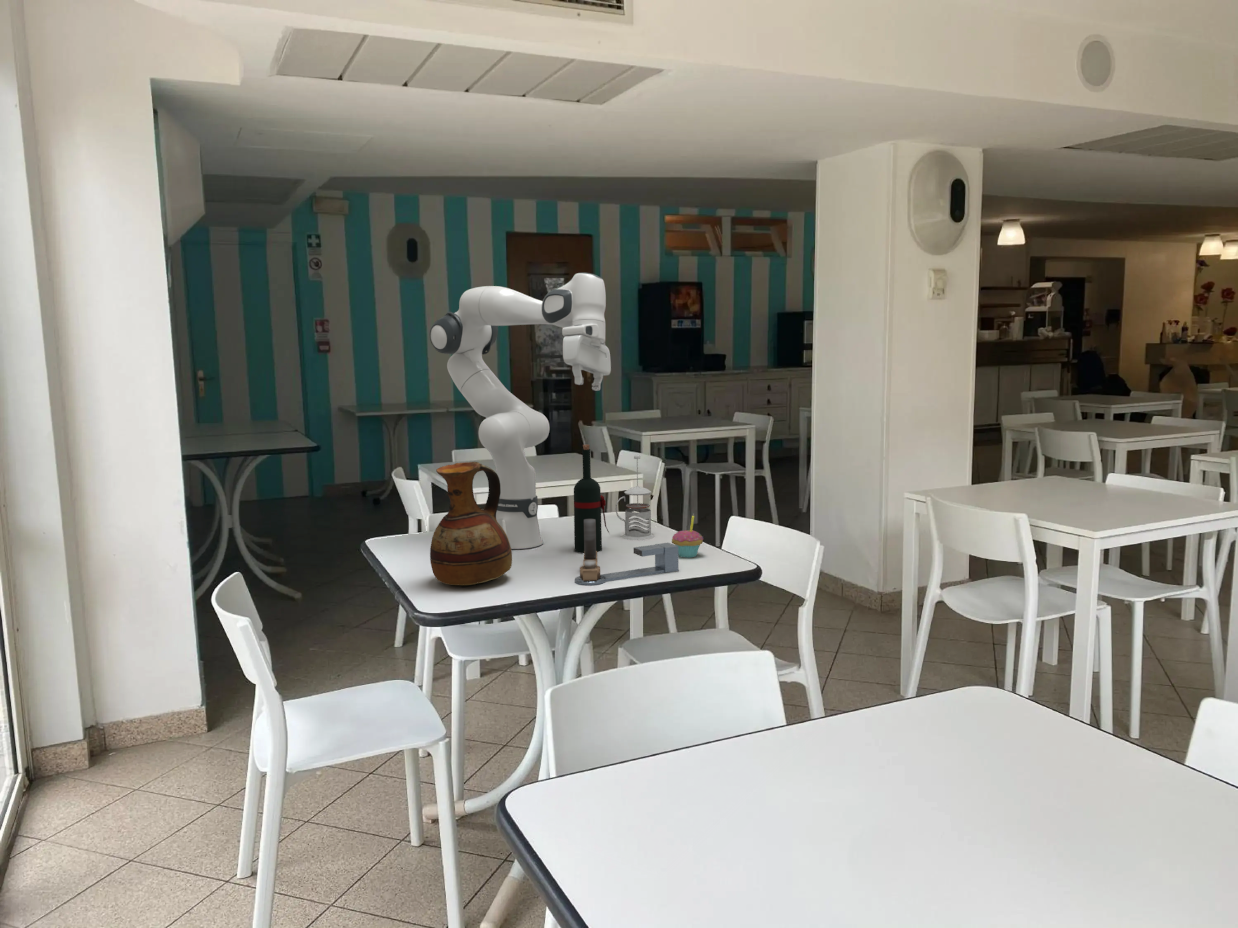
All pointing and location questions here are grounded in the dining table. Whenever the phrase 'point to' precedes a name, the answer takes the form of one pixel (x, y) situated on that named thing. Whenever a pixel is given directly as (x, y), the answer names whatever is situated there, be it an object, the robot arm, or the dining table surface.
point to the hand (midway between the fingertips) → (587, 387)
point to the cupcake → (687, 541)
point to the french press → (637, 514)
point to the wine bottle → (587, 504)
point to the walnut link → (590, 552)
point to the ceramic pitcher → (469, 531)
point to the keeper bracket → (663, 563)
